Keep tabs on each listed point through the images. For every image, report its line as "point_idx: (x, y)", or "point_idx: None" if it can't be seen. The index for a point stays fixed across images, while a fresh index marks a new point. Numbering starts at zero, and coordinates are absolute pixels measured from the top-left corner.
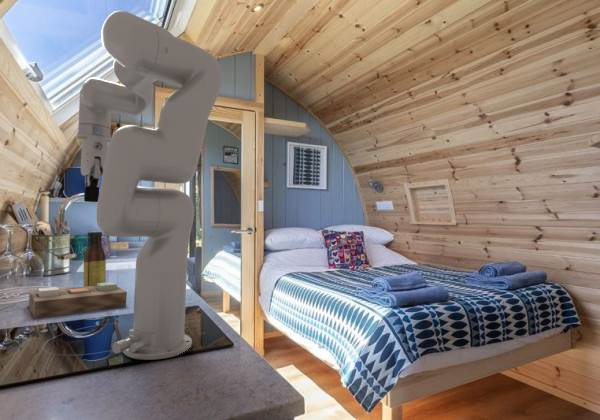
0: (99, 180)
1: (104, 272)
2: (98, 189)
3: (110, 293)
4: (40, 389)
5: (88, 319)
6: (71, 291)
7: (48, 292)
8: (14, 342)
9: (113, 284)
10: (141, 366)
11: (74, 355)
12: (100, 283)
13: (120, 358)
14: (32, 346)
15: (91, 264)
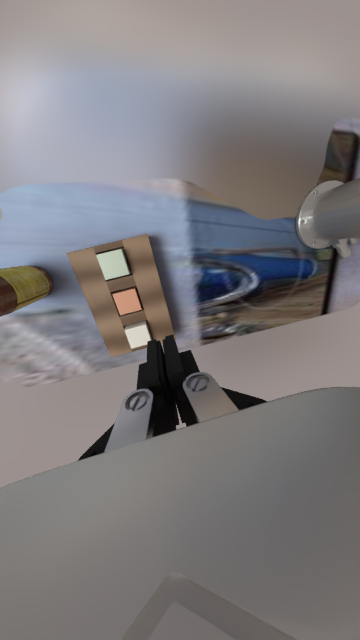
0: (230, 401)
1: (16, 270)
2: (182, 366)
3: (152, 258)
4: (339, 296)
5: (198, 281)
6: (137, 310)
7: (149, 334)
8: (245, 329)
9: (121, 254)
10: None
11: (297, 284)
12: (107, 274)
13: (323, 251)
14: (261, 315)
15: (22, 298)
